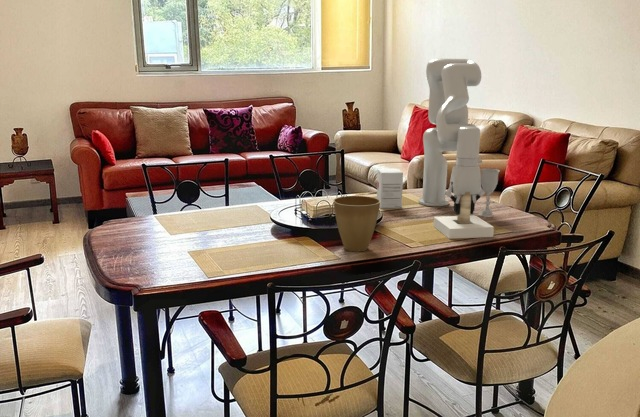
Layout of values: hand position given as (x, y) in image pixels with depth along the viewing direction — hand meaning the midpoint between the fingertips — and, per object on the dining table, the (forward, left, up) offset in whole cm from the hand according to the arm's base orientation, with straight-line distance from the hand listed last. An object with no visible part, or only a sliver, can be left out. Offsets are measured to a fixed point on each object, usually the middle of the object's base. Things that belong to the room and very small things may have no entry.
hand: (463, 213), depth 221 cm
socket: (0, 0, -7) cm, 7 cm away
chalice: (-20, +18, -7) cm, 28 cm away
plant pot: (+14, -42, -7) cm, 45 cm away
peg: (0, 0, -4) cm, 4 cm away
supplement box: (-40, -16, -7) cm, 44 cm away
